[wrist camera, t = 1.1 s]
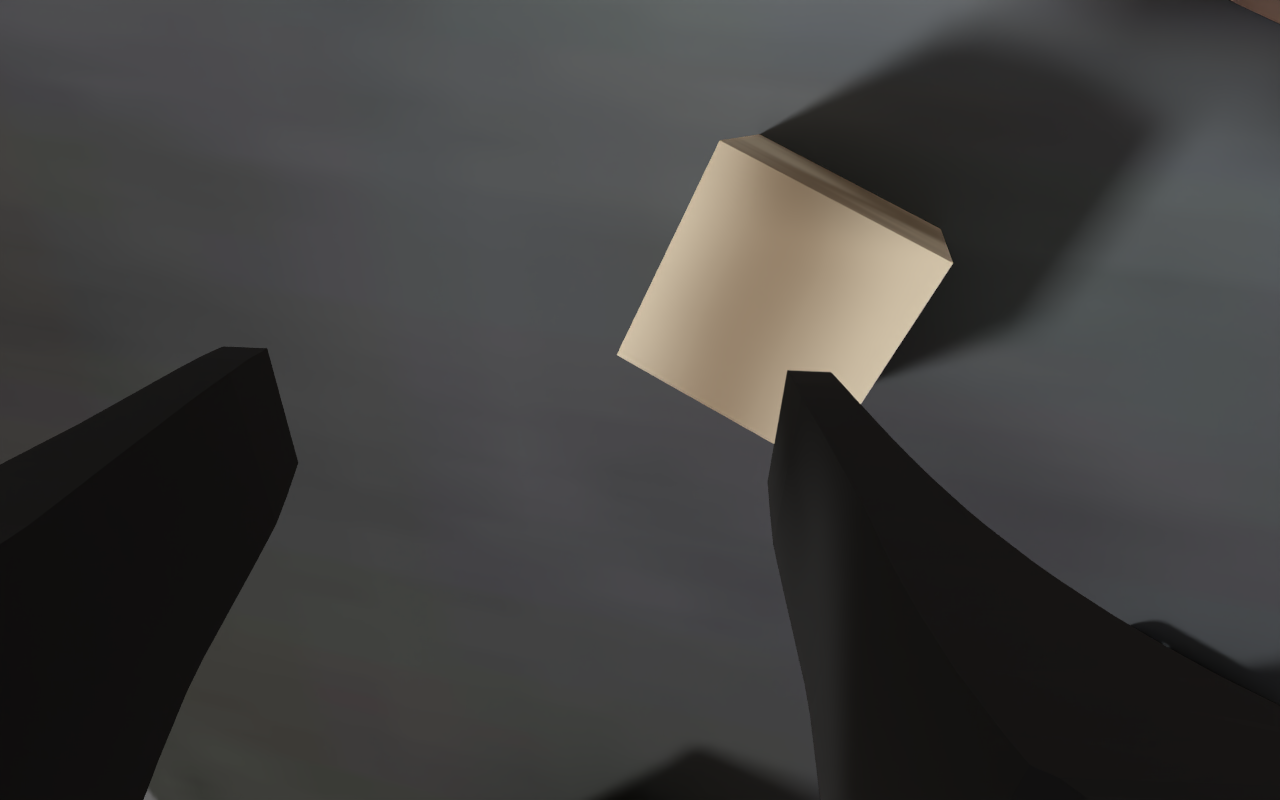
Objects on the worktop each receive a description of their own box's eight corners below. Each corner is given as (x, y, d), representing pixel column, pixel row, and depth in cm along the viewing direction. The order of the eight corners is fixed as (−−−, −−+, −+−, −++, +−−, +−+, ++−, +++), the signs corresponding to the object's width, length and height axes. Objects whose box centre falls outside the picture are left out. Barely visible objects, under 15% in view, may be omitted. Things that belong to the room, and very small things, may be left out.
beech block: (940, 228, 19) (953, 263, 15) (834, 394, 22) (818, 469, 17) (760, 134, 20) (720, 140, 15) (674, 305, 22) (616, 355, 18)
